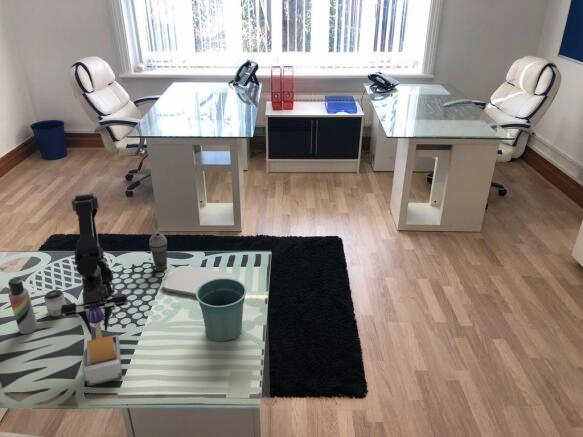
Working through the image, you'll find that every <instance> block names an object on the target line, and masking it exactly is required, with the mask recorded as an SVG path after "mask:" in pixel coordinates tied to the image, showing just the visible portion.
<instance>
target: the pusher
mask: <svg viewBox="0 0 583 437" xmlns="http://www.w3.org/2000/svg"><path fill="white" fill-rule="evenodd" d="M112 336H113V335H109V336H108V335H107V336H102V338H98V339H97V338H94V339H90V340H89V339H88V340H86V347H87V346H88V350H89V355H90V359H91V363H96V362H100V361H105V360H109V359H114V358H116V353H115V348H114V343H113V338H112Z"/></svg>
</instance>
